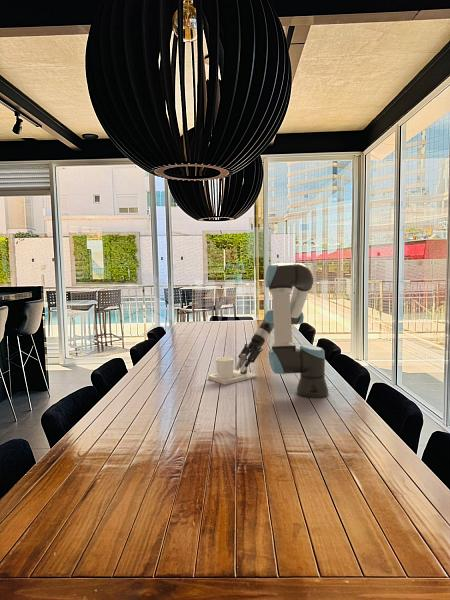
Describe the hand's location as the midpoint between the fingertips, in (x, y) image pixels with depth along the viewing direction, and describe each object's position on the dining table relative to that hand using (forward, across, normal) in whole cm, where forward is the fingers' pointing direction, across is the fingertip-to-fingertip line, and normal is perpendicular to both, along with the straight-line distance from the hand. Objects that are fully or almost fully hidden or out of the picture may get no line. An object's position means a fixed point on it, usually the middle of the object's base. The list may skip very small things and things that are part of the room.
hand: (238, 370), depth 243 cm
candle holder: (+10, 0, +4) cm, 11 cm away
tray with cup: (+6, 0, 0) cm, 6 cm away
